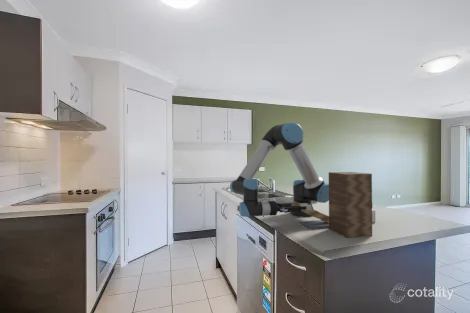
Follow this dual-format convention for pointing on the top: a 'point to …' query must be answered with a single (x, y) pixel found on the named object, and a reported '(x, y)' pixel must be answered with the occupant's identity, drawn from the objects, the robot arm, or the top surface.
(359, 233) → the stand
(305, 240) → the top surface
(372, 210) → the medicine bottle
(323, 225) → the mat
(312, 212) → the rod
